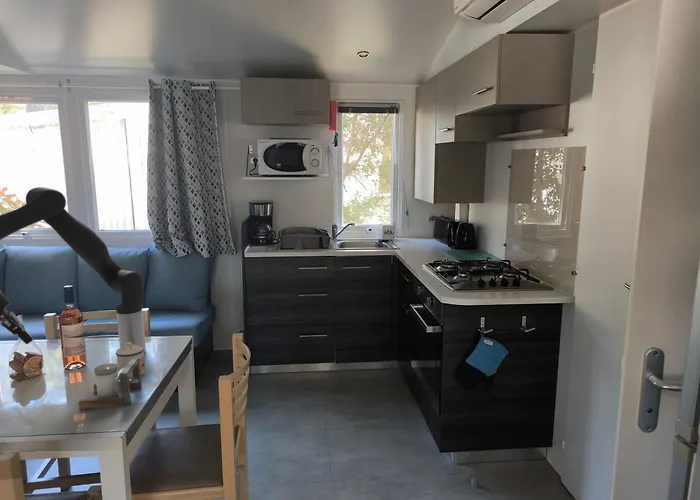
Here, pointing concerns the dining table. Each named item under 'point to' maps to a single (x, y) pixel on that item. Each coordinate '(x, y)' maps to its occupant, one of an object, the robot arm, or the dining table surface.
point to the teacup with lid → (130, 356)
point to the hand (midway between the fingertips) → (30, 341)
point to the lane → (125, 389)
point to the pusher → (118, 385)
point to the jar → (105, 379)
